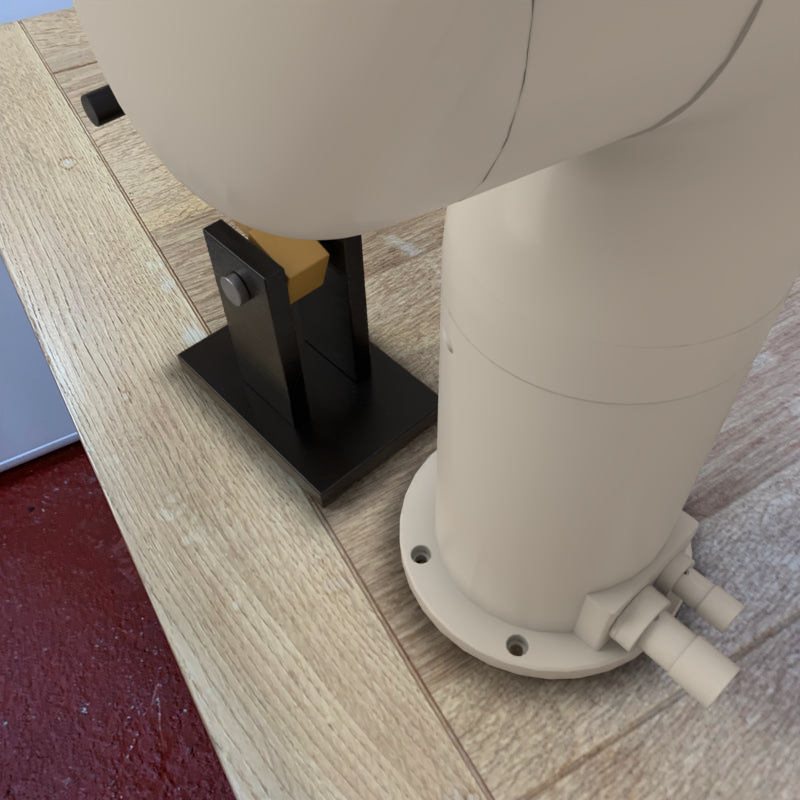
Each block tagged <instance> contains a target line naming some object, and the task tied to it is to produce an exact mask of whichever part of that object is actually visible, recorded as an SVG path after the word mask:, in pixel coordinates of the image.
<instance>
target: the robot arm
mask: <svg viewBox="0 0 800 800" xmlns="http://www.w3.org/2000/svg"><path fill="white" fill-rule="evenodd" d="M71 2H72V5H73V7H74V10H75V13H76V15H77V18H78V20H79V23H80V27H81V29H82V31H83V34H84V35H85V38H86V40H87V43H88V45H89V47H90V50H91V51H92V54H93V56H94V58H95V60H96V62H97V64H98V66H99V68H100V70H101V72H102V74H103V76H104V78H105V80H106V82H107V84H109V86H110V88H111V90H112V92H113V94H114V95H115V97H116V99H117V101H118V103H119V105H120V106H121V108H122V110H123V111H124V113H125V114H126V115H125V117H126V118H127V119H128V121H129V123H130V124H131V126H132V127H133V128H134V130H135V131H136V133H137V134H138V135H139V136H140V138H141V139H142V141H143V142H144V144H145V145H146V146H147V147H148V148H149V150H150V151H151V152H152V154H153V155H154V156H155V157H156V158H157V160H159V162H160V163H161V164H162V165H163V166H164V168H166V170H167V171H168V172H169V173H170V174H171V175H172V176H173V177H175V179H176V180H177V181H179V183H181V184H182V185H183V186H184V187H185V188H187V189H188V191H189V192H191V193H192V194H193V195H195V196H196V197H197V198H199V199H200V200H201V201H202V202H203V203H205V204H206V205H208V206H209V207H210V208H212V209H214V210H215V211H217V212H218V213H220V214H221V215H223V216H224V217H227V218H229V219H230V220H232V219H233V220H235V221H237V222H239V223H241V224H243V225H245V226H248V227H251V228H253V229H256V230H259V231H262V232H264V233H267V234H272V235H276V236H281V237H286V238H292V239H303V240H330V239H341V238H347V237H352V236H357V235H361V236H362V235H365V234H370V233H372V232H377V231H380V230H385V229H387V228H391V227H394V226H396V225H399V224H402V223H405V222H408V221H411V220H413V219H417V218H419V217H423V216H424V215H427V214H430V213H433V212H436V211H438V210H441V209H444V208H446V211H445V215H444V225H443V235H442V244H441V272H440V273H441V275H440V310H439V311H440V313H439V314H440V315H439V322H440V323H439V351H438V352H439V353H438V354H439V355H438V356H439V357H438V390H437V391H438V392H437V393H438V394H437V395H438V421H437V434H436V435H437V436H436V438H437V439H436V450H435V451H433V452H432V453H431V454H430V455H428V457H427V458H426V459H425V461H424V462H423V463H422V465H421V466H420V467H419V468H418V470H417V471H416V472H415V474H414V475H413V478H412V479H411V480H412V481H411V482H410V484H409V486H408V488H407V491H406V492H405V494H404V499H403V503H402V508H401V512H400V516H399V547H400V559H401V565H402V567H403V570H404V574H405V577H406V581H407V583H408V587H409V588H410V590H411V592H412V594H413V596H414V598H415V599H416V601H417V603H418V605H419V606H420V609H421V610H422V612H423V613H424V614H425V615H426V616H427V618H428V619H429V620H430V621H431V622H432V623H433V625H434V626H435V628H437V629H438V630H439V632H440V633H441V634H443V635H444V636H445V637H446V638H447V639H449V640H450V641H451V642H452V643H453V644H454V645H456V646H457V647H458V648H459V649H460V650H462V651H463V652H466V653H467V654H469V655H471V656H473V657H474V658H476V659H478V660H480V661H482V662H483V663H485V664H487V665H489V666H491V667H494V668H497V669H500V670H503V671H506V672H509V673H512V674H515V675H518V676H523V677H529V678H530V677H532V678H537V679H543V680H544V679H545V680H564V679H565V680H568V679H570V680H571V679H582V678H586V677H590V676H594V675H599V674H602V673H606V672H610V671H611V670H614V669H616V668H618V667H621V666H622V665H625V664H626V663H629V662H631V661H633V660H634V659H636V658H637V657H639V656H640V655H641V654H642V653H644V654H645V655H647V657H649V658H650V659H651V660H653V661H654V662H655V663H656V664H657V665H658V666H659V667H661V669H663V670H664V671H665V672H666V673H667V674H666V676H668V677H669V678H670V679H671V680H673V681H674V682H675V683H676V684H677V685H678V686H680V687H681V688H682V689H683V690H684V691H685V692H686V693H688V694H689V695H690V696H691V697H692V698H693V699H694V700H696V701H697V702H698V703H699V704H700V705H702V706H703V707H704V708H705V709H706V710H709V708H710V707H711V706H712V705H713V704H714V703H715V701H716V700H717V699H718V698H719V696H720V695H721V694H722V693H723V692H724V690H725V689H726V688H727V687H728V685H730V683H731V682H732V681H733V679H734V678H735V677H736V676H737V674H738V673H740V671H741V669H742V667H740V666H739V665H738V664H737V663H736V662H734V661H733V660H732V659H731V658H729V657H728V656H727V655H726V654H724V653H723V652H722V651H721V650H720V649H718V648H717V647H715V645H713V644H712V643H711V642H710V641H708V640H707V639H706V638H705V637H704V636H702V635H701V634H699V635H697V634H696V633H694V632H693V631H692V630H691V629H690V628H689V627H687V626H686V625H685V624H684V623H683V622H681V620H679V619H677V618H676V617H675V616H676V614H677V612H678V611H679V609H680V607H681V606H682V604H683V602H684V604H685V605H687V606H689V607H690V608H691V609H692V610H694V613H695V614H696V615H697V616H698V617H700V619H702V620H703V621H704V622H705V623H706V624H708V625H710V626H711V627H712V628H713V629H715V630H716V631H717V632H718V633H720V635H724V634H725V633H726V632H727V630H728V629H729V628H730V627H731V626H732V624H733V623H734V622H735V621H736V619H737V618H738V617H739V616H740V615H741V613H742V612H743V611H744V609H746V606H745V605H744V604H742V602H740V601H739V600H738V599H736V598H735V597H734V596H733V595H731V594H730V593H729V592H727V591H726V590H725V589H723V588H722V587H721V586H720V585H718V584H714V583H713V582H712V581H710V580H709V579H708V578H707V577H705V576H704V575H702V574H701V573H700V572H699V571H697V570H696V569H695V568H694V566H695V565H696V560H694V559H693V550H692V549H693V548H692V540H693V538H694V536H695V534H696V532H697V530H698V528H699V527H700V522H699V521H698V520H697V519H695V518H694V517H693V516H692V515H691V514H689V513H687V512H686V511H685V510H683V509H684V506H685V504H686V503H687V501H688V498H689V496H690V494H691V492H692V490H693V489H694V486H695V484H696V482H697V480H698V478H699V475H700V473H701V471H702V469H703V467H704V466H705V463H706V461H707V459H708V457H709V455H710V453H711V451H712V449H713V447H714V445H715V443H716V441H717V439H718V437H719V435H720V432H721V431H722V428H723V426H724V424H725V422H726V420H727V418H728V416H729V413H730V412H731V410H732V408H733V405H734V403H735V402H736V399H737V397H738V395H739V393H740V391H741V389H742V387H743V385H744V383H745V381H746V379H747V377H748V375H749V373H750V370H751V368H752V366H753V364H754V362H755V360H756V358H757V356H758V354H759V352H760V351H761V350H762V348H763V346H764V344H765V342H766V340H767V338H768V336H769V335H770V332H771V330H772V328H773V326H774V324H775V322H776V320H777V318H778V315H780V312H781V310H782V308H783V305H784V304H785V301H786V300H787V298H788V295H789V293H790V292H791V289H792V288H793V286H794V284H795V283H796V279H797V278H798V275H799V274H800V0H71ZM419 561H424V563H418V562H419ZM513 649H515V650H518V651H520V653H521V655H515V654H513V653H511V650H513Z"/></svg>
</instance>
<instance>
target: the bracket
mask: <svg viewBox="0 0 800 800" xmlns="http://www.w3.org/2000/svg"><path fill="white" fill-rule="evenodd" d="M202 233H203V238H204V241H205V244H206V249H207V252H208V256H209V259H210V264H211V267H212V271H213V275H214V279H215V281H216V286H217V290H218V293H219V297H220V301H221V304H222V309H223V310H224V311H223V312H224V315H225V319H226V324H225V325H224V326H222V327H221V328H219V329H217V330H215V331H214V332H213V333H211V334H209V335H207V336H205V337H204V338H202V339H200V340H199V341H198V342H196V343H194V344H192V345H191V346H189V347H187V348H185V349H184V350H182V351H181V352H179V353H178V354H177V355H176V356H177V359H178V363H179V365H180V368H181V370H182V371H183V372H184V373H185V375H187V377H189V378H190V379H191V380H192V381H193V382H194V383H195V384H196V385H197V386H198V387H199V388H200V389H201V390H202V391H203V392H204V393H205V394H206V395H207V396H208V397H209V398H211V400H212V401H214V403H215V404H216V405H217V406H218V407H219V408H221V410H223V412H225V414H226V415H228V416H229V417H230V418H231V419H232V420H233V421H234V422H235V423H236V424H237V425H238V426H239V427H240V428H241V429H242V430H243V432H245V433H246V434H247V435H248V436H249V437H250V438H251V439H252V440H253V441H254V443H256V444H257V445H258V446H259V447H260V448H261V449H262V450H263V451H264V452H265V453H266V454H267V455H268V456H269V457H270V458H271V459H272V460H273V461H274V462H275V463H276V464H277V465H278V466H279V467H280V468H281V469H282V470H283V471H284V472H286V474H288V475H289V476H290V478H292V479H293V480H294V482H296V483H297V484H298V486H300V487H301V488H302V489H303V490H304V491H305V492H306V494H308V495H309V496H310V497H311V498H312V499H313V500H314V502H316V503H317V504H318V505H319V506H320V508H322V509H325V508H327V507H328V506H329V505H330V504H331V503H333V502H334V501H336V500H337V499H338V498H339V497H341V496H342V495H343V494H344V493H346V492H347V491H349V490H350V489H351V488H352V487H354V486H355V485H356V484H358V483H359V482H360V481H362V480H364V479H365V478H366V477H367V476H368V475H369V474H371V473H372V472H374V471H375V470H376V469H377V468H379V467H380V466H381V465H382V464H383V463H385V462H386V461H388V460H389V459H390V458H391V457H393V456H394V455H396V454H397V453H398V452H399V451H401V450H402V449H403V448H404V447H406V446H407V445H408V444H410V443H411V442H412V441H414V440H415V439H416V438H417V437H419V436H420V435H421V434H423V433H424V432H425V431H426V430H428V429H430V428H431V427H432V426H433V425H434V424H435V423H438V394H437V393H436V392H435V391H434V390H433V389H431V388H430V386H427V385H426V384H425V383H424V382H422V381H421V380H420V379H419V378H418V377H416V376H415V375H414V374H413V373H411V372H410V371H409V370H407V369H406V368H405V367H403V366H402V365H401V364H400V363H398V361H396V360H395V359H393V358H392V357H391V356H390V355H388V354H387V353H386V352H385V351H384V350H382V349H381V348H380V347H378V346H377V345H375V344H374V343H373V342H372V341H371V340H370V332H369V331H370V330H369V320H368V319H369V317H368V307H367V306H368V305H367V303H368V302H367V292H366V291H367V289H366V279H365V276H366V275H365V263H364V250H363V239H362V234H361V235H357V236H352V237H347V238H341V239H330V240H317V241H318V242H319V243H320V244H321V245H322V246H323V247H324V248H325V250H326V251H327V252H328V253H329V260H328V264H327V269H326V273H325V278H324V282H323V285H321V286H320V287H318V288H316V289H315V290H313V291H311V292H310V293H308V294H307V295H305V296H303V297H302V298H300V299H298V300H297V301H295V302H294V303H292V304H290V298H289V292H288V287H287V281H286V275H285V270H284V268H283V267H282V266H281V265H279V264H278V263H277V262H276V261H274V260H273V259H272V258H270V257H269V256H268V255H267V254H265V253H264V252H263V251H262V250H260V249H259V248H258V247H256V246H255V245H254V244H253V243H251V242H250V241H249V240H248V238H247V237H246V236H245V235H243V234H241V233H240V232H239V231H238V230H236V229H235V228H234V227H232V226H231V225H230V224H229V223H228V222H226V221H225V220H223V219H222V218H219V219H217V220H216V221H214V222H211V223H210V224H208V225H206V226H204V227H203V228H202Z"/></svg>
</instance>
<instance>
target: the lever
mask: <svg viewBox="0 0 800 800" xmlns="http://www.w3.org/2000/svg"><path fill="white" fill-rule="evenodd" d="M80 103H81V106H82V109H83V111H84V113H85V115H86V116H87V118H88V120H89V121H90V122H91V123H92V124H93V125H94V126H95V127H97V128H100V127H102V126H104V125H106V124H108V123H111V122H113V121H116V120H117V119H120V118H123V117H126V114H125V113H124V111H123V110H122V108H121V106H120V105H119V103H118V101H117V99H116V97H115V95H114V94H113V92H112V90H111V88H110V86H109V84H108V83H107V84H105V85H103V86H100V87H98V88H96V89H93V90H90V91H89V92H86V93H84V94H82V95H81V96H80ZM231 221H232V222H233V223H234V224H235V225H236V227H238V229H239V231H241V232H242V233H243V235H244V236H245V238H246V239H248V240H249V241H250V242H251V243H253V244H254V245H255V246H256V247H258V248H259V249H260V250H262V251H263V252H264V253H265V254H267V255H268V256H269V257H270V258H272V259H273V260H274V261H276V262H277V263H278V264H279V265H281V266H282V267H283V268H284V270H285V275H286V281H287V287H288V292H289V298H290V304H292V303H294V302H295V301H297V300H298V299H300V298H302V297H303V296H305V295H307V294H308V293H310V292H311V291H313V290H315V289H316V288H318V287H320V286H321V285H323V282H324V278H325V273H326V269H327V264H328V260H329V253H328V252H327V251H326V250H325V248H324V247H323V246H322V245H321V244H320V243H319V242H318V241H317V240H303V239H292V238H286V237H281V236H276V235H272V234H267V233H264V232H262V231H259V230H256V229H253V228H251V227H248V226H245V225H243V224H241V223H239V222H237V221H235V220H233V219H231Z"/></svg>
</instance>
